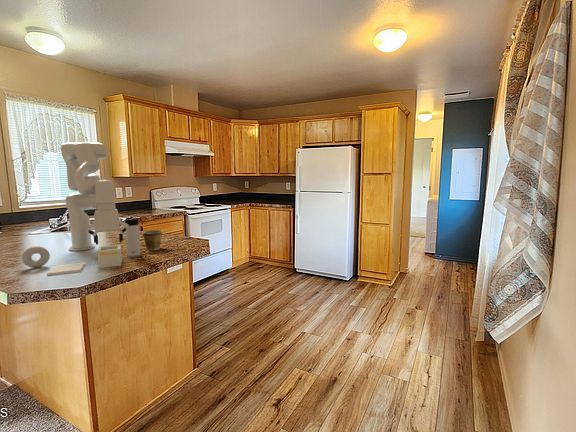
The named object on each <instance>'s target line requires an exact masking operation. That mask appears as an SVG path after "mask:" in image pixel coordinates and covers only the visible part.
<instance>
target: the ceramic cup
mask: <svg viewBox="0 0 576 432" xmlns="http://www.w3.org/2000/svg"><path fill="white" fill-rule="evenodd" d="M142 235H143V239H144V244H145V246H146V247H145V248H146V250H147V251H158V250H160V248H161V243H162V235H163V231H162V230H158V229H157V230H155V229H153V230H145V231H143V232H142Z"/></svg>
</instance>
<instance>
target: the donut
mask: <svg viewBox="0 0 576 432" xmlns="http://www.w3.org/2000/svg"><path fill="white" fill-rule="evenodd" d="M35 254H38V255H39V256H40V257H39V259H36V260H35V259H33V258H32V257H33V255H35ZM50 258H51V257H50V252H49V250H48V249H47V248H45V247H43V246H39V245H35V246H31V247H28V248H27V249H26V250H25V251H23V253H22V254H21V261H22V263H23V264H24V265H25V266H26V267H28V268H32V269H33V268H34V269H35V268H36V269H37V268H40V267H43V266H45V265H46V264H47V263H49V260H50Z"/></svg>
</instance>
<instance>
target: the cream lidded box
mask: <svg viewBox="0 0 576 432" xmlns="http://www.w3.org/2000/svg"><path fill="white" fill-rule="evenodd" d="M96 251H97V252H96V253H97V263H98V269H102V268H103V269H104V268H111V267H112V268H113V267H121V266H122V264H123V263H122V262H123V259H122V258H123V257H122V245H121V244H117V245H105V246H99V247H98V249H97V250H96Z"/></svg>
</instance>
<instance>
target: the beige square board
mask: <svg viewBox="0 0 576 432" xmlns="http://www.w3.org/2000/svg"><path fill="white" fill-rule="evenodd" d="M85 266H86V262H78V263H77V262H76V263H68V264H59V265H58V264H57V265H53V266H52V267H51V268H50V269H48V270H49V271H47V272H46V275H47V276H56V275H63V274H64V273H65V274H71V273H73V274H74V273H81V272H82V270H83V269H84V267H85ZM65 274H64V275H65Z"/></svg>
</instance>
